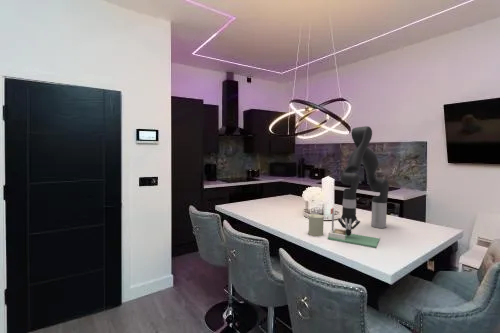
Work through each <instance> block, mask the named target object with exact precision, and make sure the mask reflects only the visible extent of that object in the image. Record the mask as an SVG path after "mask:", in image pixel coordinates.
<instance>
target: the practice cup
mask: <svg viewBox="0 0 500 333" xmlns="http://www.w3.org/2000/svg"><path fill="white" fill-rule="evenodd" d="M330 215H331V230H330V231H328V232H327V233H328V235H327V238H328V237H331V238H337V239H342V240H345V236H346V235H343V234H337V233H335V230H336V229H342V230H345V231H346V229H345V228H338V227H334V225H335V223H334V220H335V219H334V218H335V207H332V208H331V209H330Z"/></svg>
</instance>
